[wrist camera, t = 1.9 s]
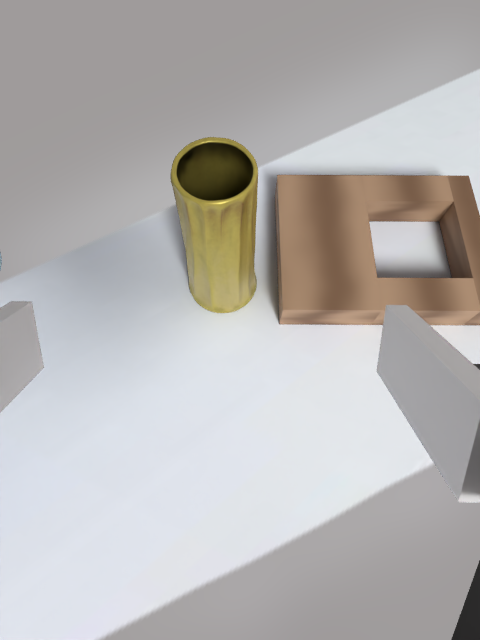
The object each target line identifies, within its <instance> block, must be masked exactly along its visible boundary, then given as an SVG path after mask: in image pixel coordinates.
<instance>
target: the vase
mask: <svg viewBox="0 0 480 640" xmlns="http://www.w3.org/2000/svg"><path fill="white" fill-rule="evenodd" d="M171 183H172V186H173V190H174V194H175V199H176V205H177V209H178V214H179V218H180V224H181V230H182V236H183V241H184V245H185V249H186V258H187V269H188V275H189V288H190V291H191V294H192V296H193V297H194V299H195V301H196V302H197V303H198V304H199V305H200V306H202V307H203V308H205V309H207V310H209V311H211V312H216V313H229V312H233V311H236V310H239V309H240V308H242V307H244V306H245V305H246V304H247V303H248V302H249V301H250V300H251V299H252V297H253V295H254V293H255V291H256V286H257V280H256V275H255V271H254V254H255V228H256V209H257V184H258V167H257V164H256V161H255V159H254V157H253V156H252V155H251V153H250V152H249V151H248V150H247V149H246V148H245V147H244V146H243V145H241V144H239V143H237V142H236V141H234V140H230V139H226V138H216V137H208V138H203V139H199V140H197V141H194V142H192V143H190V144H188V145H187V146H185V147H184V148H183V149H182V150H181V151H180V152H179V153H178V154H177V156H176V157H175V159H174V161H173V164H172V169H171Z"/></svg>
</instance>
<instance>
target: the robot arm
mask: <svg viewBox="0 0 480 640" xmlns="http://www.w3.org/2000/svg"><path fill="white" fill-rule="evenodd" d="M1 262H2V260H1V253H0V270H1ZM43 368H44V365H43V360H42V354H41V349H40V344H39V338H38V333H37V328H36V322H35V317H34V312H33V306H32V302H22V301H11V302H9V303H8V304H6V305H4V306H3V307H1V308H0V412H1V411H2V410H3V409H4V408H5V407H6V406H7V405H8V404H9V403H10V402H11V401H12V400H13V399H14V398H15V397H16V396H17V395H18V394H19V393H20V392H21V391H22V390H23V389H24V388H25V387H26V386H27V385H28V384H29V383H30V382H31V381H32V380H33V378H34V377H35V376H36V375H37V374H38V373H39V372H40V371H41V370H42V369H43ZM377 373H378V374H379V376H380V377H381V379H382V381H383V382H384V384H385V385H386V387H387V389H388V390H389V392H390V393H391V395H392V397H393V398H394V400H395V401H396V403H397V405H398V406H399V408H400V409H401V411H402V413H403V414H404V416H405V417H406V419H407V421H408V422H409V424H410V425H411V427H412V429H413V430H414V432H415V433H416V435H417V437H418V438H419V440H420V441H421V443H422V445H423V446H424V448H425V450H426V451H427V453H428V454H429V456H430V458H431V459H432V461H433V462H434V464H435V466H436V467H437V469H438V470H439V472H440V474H441V475H442V477H443V478H444V480H445V481H446V483H447V485H448V486H449V488H450V489H451V491H452V493H453V494H454V496H455V497H456V499H457V501H458V502H480V364H472V363H471V362H470V361H469V360H468V359H467V358H466V357H465V356H463V355H462V354H461V353H460V352H459V351H458V350H457V349H456V348H454V347H453V346H452V345H451V344H450V343H449V342H448V341H447V340H445V339H444V338H443V337H442V336H441V335H440V334H439V333H438V332H436V331H435V330H434V329H433V328H432V327H431V326H430V325H429V324H428V323H426V322H425V321H424V320H423V319H422V318H421V317H420V316H419V315H417V314H416V313H415V312H414V311H413V310H412V309H411V308H410V307H408V306H407V305H386V309H385V316H384V323H383V330H382V337H381V344H380V351H379V358H378V365H377ZM452 640H480V561H479V564H478V567H477V569H476V572H475V576H474V578H473V581H472V584H471V587H470V589H469V592H468V595H467V598H466V600H465V603H464V606H463V609H462V612H461V614H460V617H459V620H458V623H457V626H456V629H455V631H454V634H453V637H452Z"/></svg>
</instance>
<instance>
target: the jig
mask: <svg viewBox="0 0 480 640" xmlns="http://www.w3.org/2000/svg"><path fill="white" fill-rule="evenodd" d="M275 213H276V241H277V269H278V296H279V324H328V325H383V323H384V316H385V309H386V305H407V306H408V307H410V308H411V309H412V310H413V311H414V312H415V313H416V314H417V315H419V316H420V317H421V318H422V319H423V320H424V321H425V322H426V323H428V324H429V325H480V215H479V211H478V208H477V204H476V201H475V197H474V193H473V190H472V186H471V183H470V179H469V176H406V175H277V183H276V191H275ZM369 221H428V222H439V223H440V228H441V232H442V236H443V241H444V245H445V250H446V254H447V258H448V263H449V267H450V272H451V276H452V278H377V273H376V266H375V259H374V252H373V245H372V238H371V231H370V224H369Z"/></svg>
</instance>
